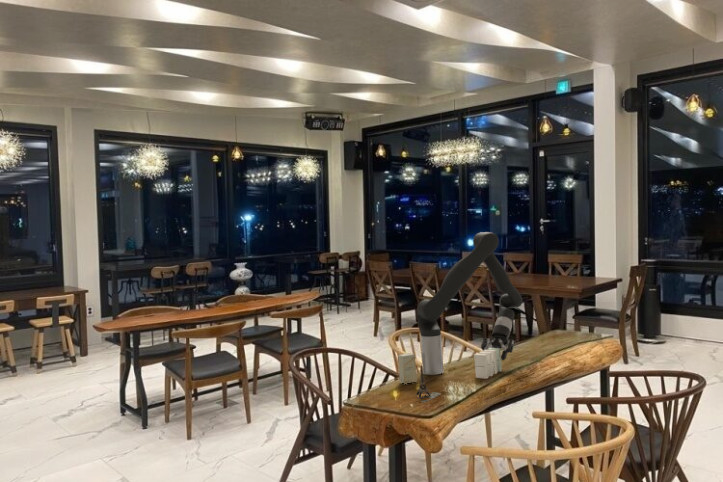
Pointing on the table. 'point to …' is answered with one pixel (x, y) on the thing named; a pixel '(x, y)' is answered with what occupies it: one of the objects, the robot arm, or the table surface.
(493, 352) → the ivory domino
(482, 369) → the ivory domino
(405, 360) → the skincare box
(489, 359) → the ivory domino
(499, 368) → the sage domino
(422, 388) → the eiffel tower figurine
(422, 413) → the table surface
